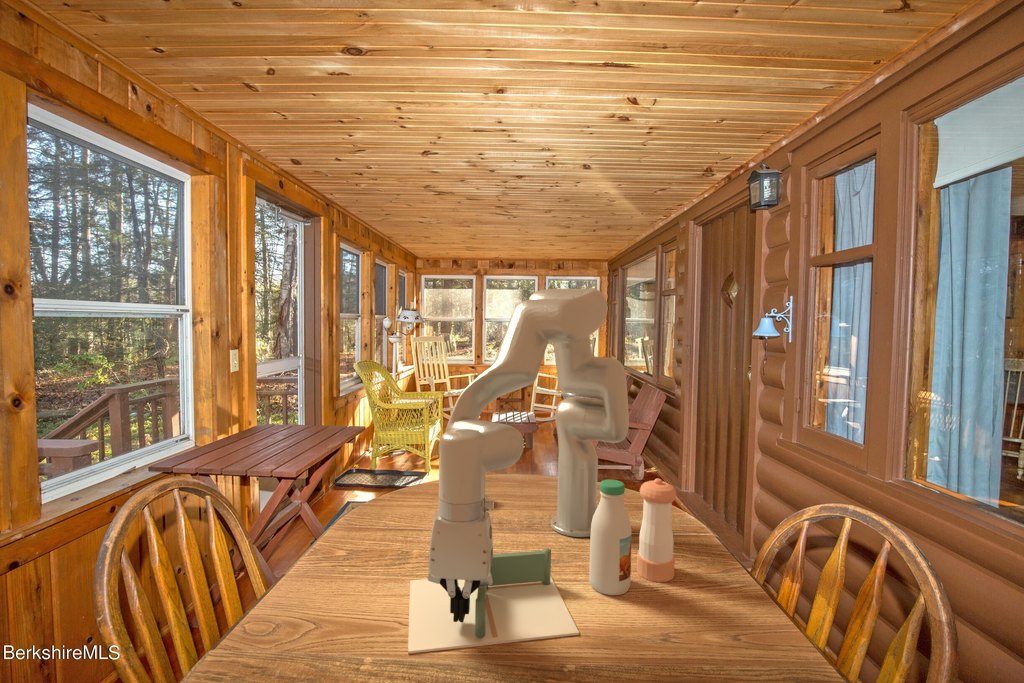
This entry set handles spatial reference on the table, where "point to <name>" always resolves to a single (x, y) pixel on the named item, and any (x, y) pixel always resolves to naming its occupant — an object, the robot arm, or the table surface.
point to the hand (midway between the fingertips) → (459, 616)
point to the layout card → (507, 616)
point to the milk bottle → (610, 542)
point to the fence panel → (480, 612)
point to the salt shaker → (656, 532)
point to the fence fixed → (521, 567)
